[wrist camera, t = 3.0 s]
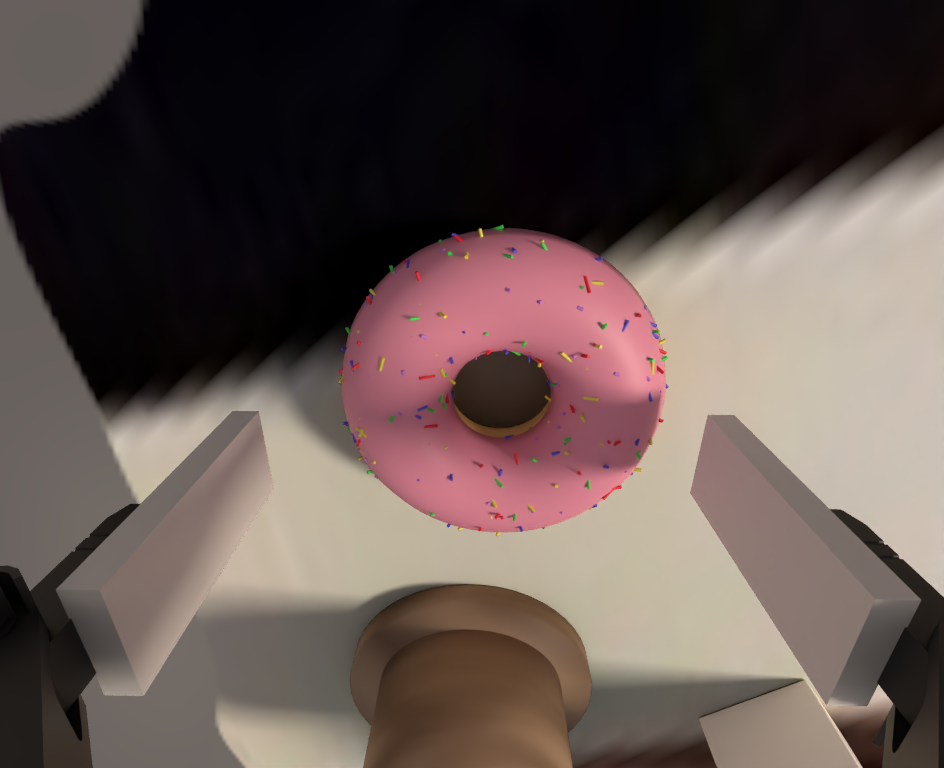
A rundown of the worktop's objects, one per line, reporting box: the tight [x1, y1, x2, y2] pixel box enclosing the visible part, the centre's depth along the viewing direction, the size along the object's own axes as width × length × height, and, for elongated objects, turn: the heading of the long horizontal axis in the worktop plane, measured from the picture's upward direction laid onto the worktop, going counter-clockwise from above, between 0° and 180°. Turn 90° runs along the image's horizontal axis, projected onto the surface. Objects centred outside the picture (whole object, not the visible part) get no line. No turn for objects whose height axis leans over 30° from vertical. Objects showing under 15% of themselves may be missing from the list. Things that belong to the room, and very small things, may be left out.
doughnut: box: [338, 225, 668, 536], centre depth 17 cm, size 11×11×4 cm
